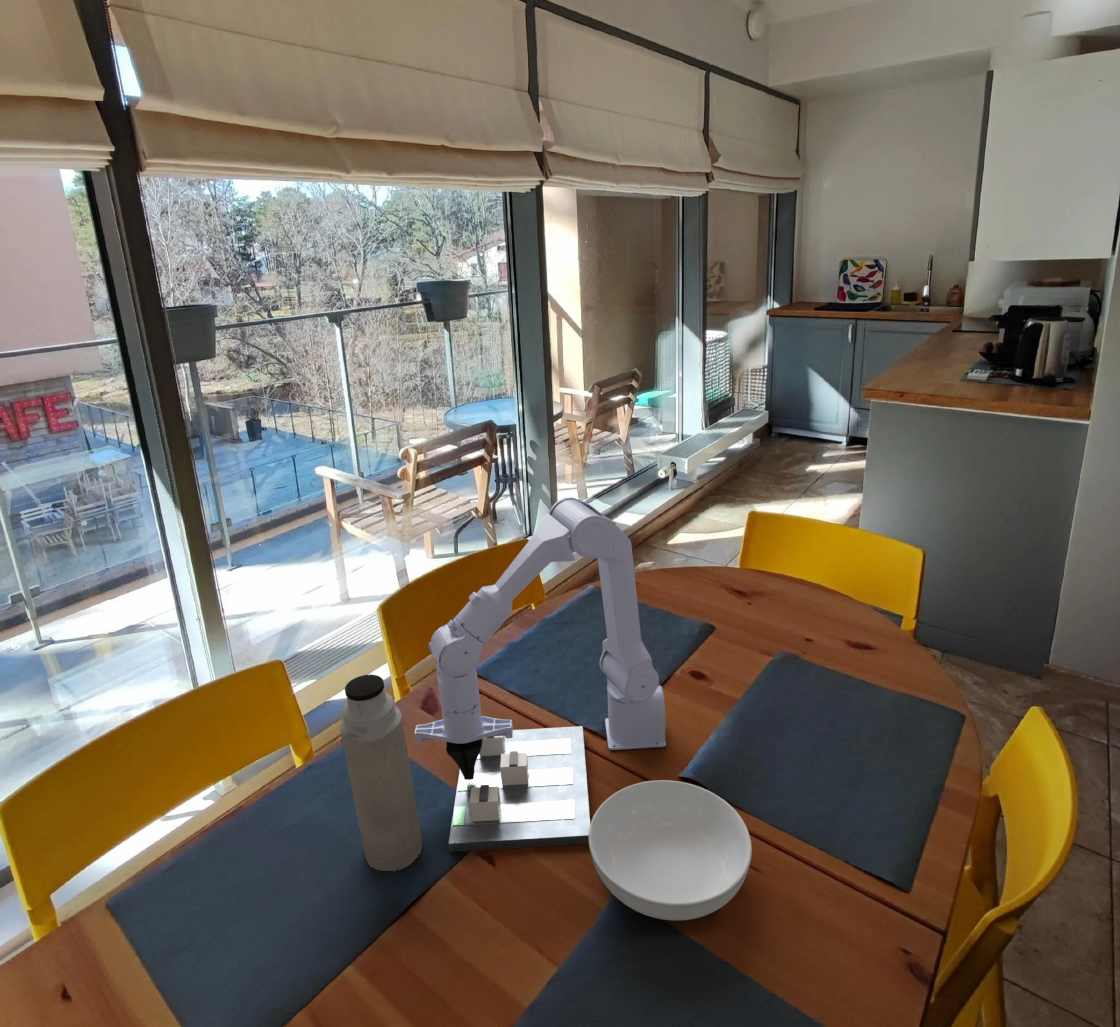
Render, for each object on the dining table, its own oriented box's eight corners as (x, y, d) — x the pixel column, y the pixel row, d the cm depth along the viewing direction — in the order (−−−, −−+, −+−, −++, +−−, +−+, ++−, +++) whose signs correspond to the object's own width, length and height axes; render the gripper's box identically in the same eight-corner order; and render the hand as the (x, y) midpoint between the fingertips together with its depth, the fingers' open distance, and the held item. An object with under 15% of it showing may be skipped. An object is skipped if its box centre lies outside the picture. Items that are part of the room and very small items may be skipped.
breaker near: (500, 804, 110) (498, 784, 108) (499, 820, 107) (497, 798, 106) (473, 806, 110) (471, 785, 108) (471, 821, 107) (469, 800, 106)
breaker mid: (528, 770, 116) (526, 750, 115) (528, 784, 113) (526, 763, 112) (503, 772, 116) (500, 752, 115) (502, 785, 113) (499, 765, 112)
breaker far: (505, 742, 123) (503, 723, 121) (504, 754, 120) (502, 735, 119) (481, 744, 123) (478, 724, 121) (479, 756, 120) (477, 736, 119)
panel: (582, 733, 127) (582, 725, 126) (591, 843, 104) (591, 834, 104) (466, 740, 127) (465, 732, 126) (449, 851, 104) (448, 842, 104)
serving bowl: (715, 976, 85) (717, 933, 83) (561, 900, 96) (558, 860, 93) (770, 850, 102) (773, 811, 99) (633, 797, 112) (632, 761, 110)
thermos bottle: (384, 823, 110) (355, 662, 100) (432, 834, 108) (407, 670, 97) (354, 865, 103) (319, 697, 93) (404, 878, 101) (374, 707, 90)
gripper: (510, 683, 113) (517, 755, 118) (415, 688, 113) (426, 760, 118) (508, 711, 107) (515, 786, 112) (407, 717, 107) (419, 792, 112)
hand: (469, 775), depth 114 cm, fingers closed
